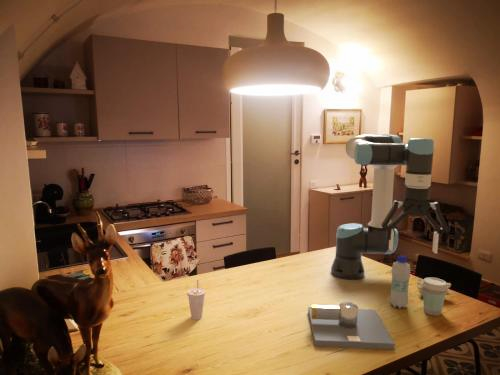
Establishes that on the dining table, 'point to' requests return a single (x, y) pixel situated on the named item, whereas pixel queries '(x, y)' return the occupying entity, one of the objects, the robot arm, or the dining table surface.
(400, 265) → the bottle
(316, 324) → the grey base plate
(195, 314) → the smoothie
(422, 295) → the cat figurine
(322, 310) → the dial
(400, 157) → the robot arm
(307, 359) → the dining table surface
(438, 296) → the coffee cup
